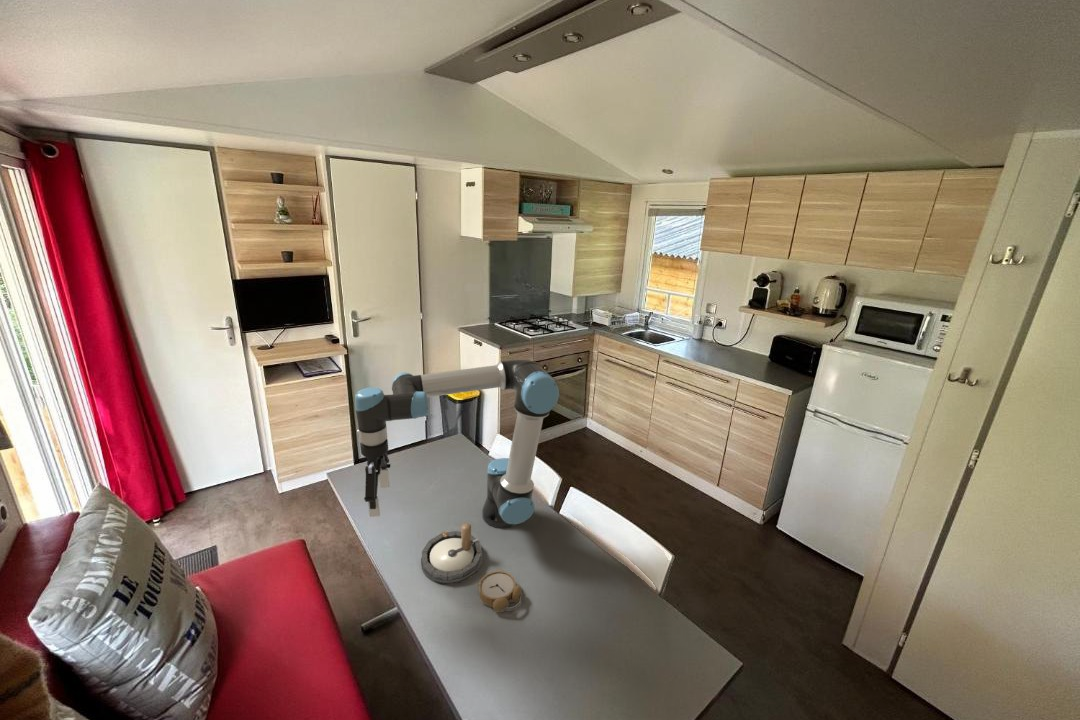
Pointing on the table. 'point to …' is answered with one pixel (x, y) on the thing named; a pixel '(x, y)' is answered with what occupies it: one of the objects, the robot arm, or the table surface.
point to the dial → (453, 552)
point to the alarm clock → (499, 591)
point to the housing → (450, 576)
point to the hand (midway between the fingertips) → (380, 500)
